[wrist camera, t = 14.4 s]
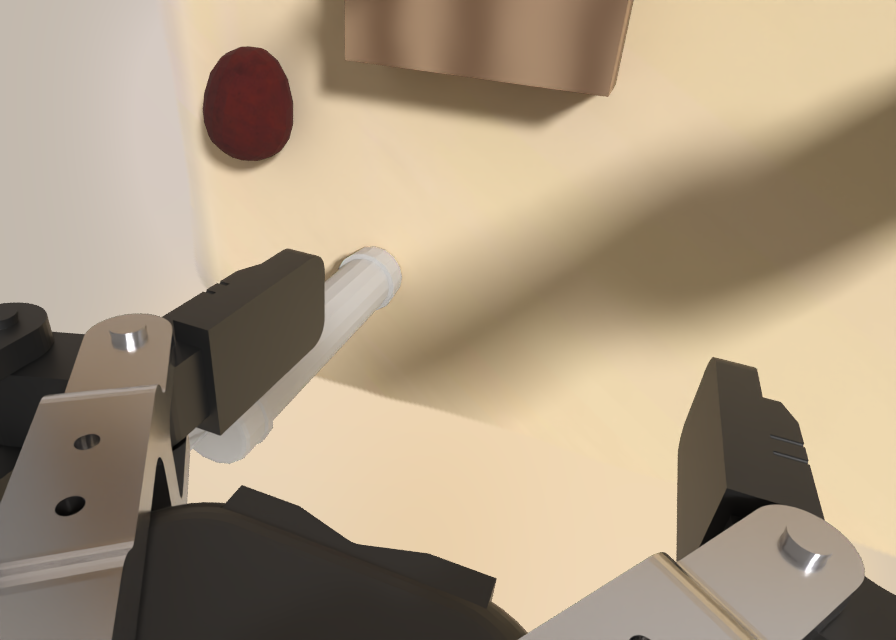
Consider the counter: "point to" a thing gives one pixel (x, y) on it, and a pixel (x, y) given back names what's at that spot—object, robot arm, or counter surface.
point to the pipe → (346, 308)
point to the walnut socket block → (495, 39)
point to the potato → (248, 104)
